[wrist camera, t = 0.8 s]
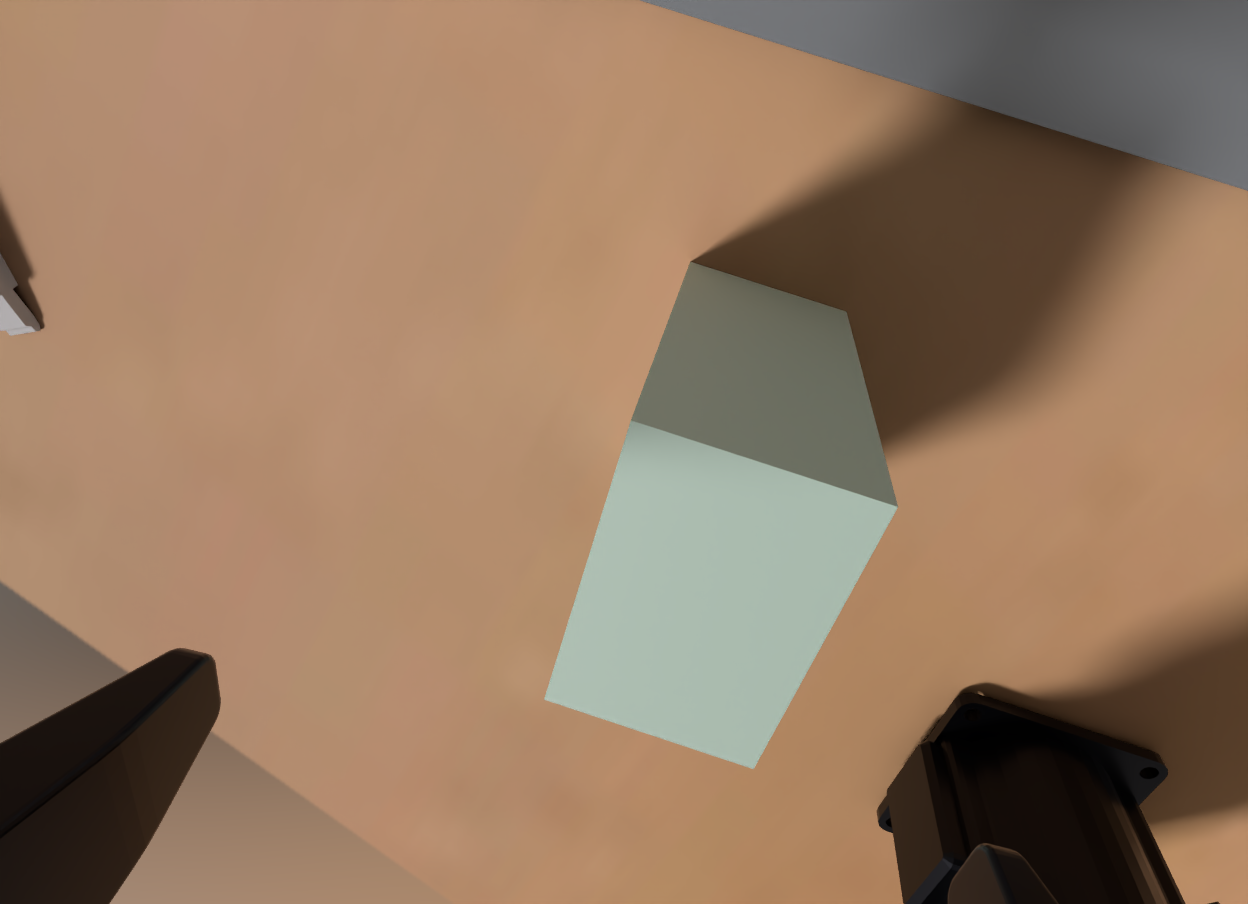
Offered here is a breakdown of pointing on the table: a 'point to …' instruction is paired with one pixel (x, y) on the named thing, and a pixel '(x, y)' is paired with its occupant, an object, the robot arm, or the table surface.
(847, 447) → the key block
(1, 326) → the caliper
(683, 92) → the table surface
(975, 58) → the socket tray
